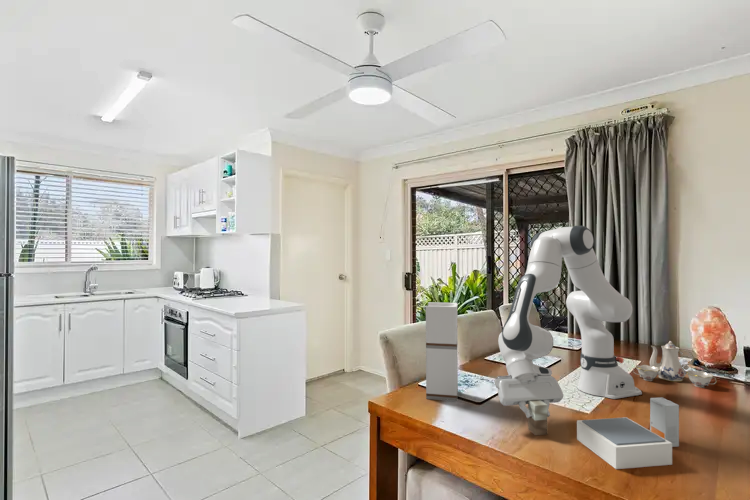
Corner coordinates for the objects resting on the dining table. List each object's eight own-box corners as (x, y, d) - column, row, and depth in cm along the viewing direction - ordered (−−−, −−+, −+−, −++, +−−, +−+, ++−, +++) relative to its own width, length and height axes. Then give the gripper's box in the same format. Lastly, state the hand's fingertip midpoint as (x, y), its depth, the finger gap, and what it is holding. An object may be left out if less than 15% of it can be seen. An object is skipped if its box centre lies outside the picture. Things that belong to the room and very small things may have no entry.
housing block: (540, 428, 125) (540, 399, 125) (547, 434, 121) (547, 404, 121) (528, 429, 125) (528, 400, 125) (535, 435, 121) (534, 405, 121)
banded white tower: (457, 391, 158) (457, 302, 158) (457, 401, 148) (456, 306, 148) (428, 389, 161) (428, 302, 161) (426, 398, 151) (425, 306, 150)
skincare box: (649, 437, 119) (649, 397, 119) (662, 436, 120) (662, 396, 119) (665, 447, 113) (665, 405, 113) (679, 447, 114) (679, 405, 113)
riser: (626, 435, 120) (626, 415, 120) (672, 464, 104) (672, 441, 104) (576, 439, 118) (576, 419, 118) (616, 469, 102) (615, 445, 102)
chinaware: (636, 386, 168) (637, 347, 166) (628, 370, 183) (629, 335, 181) (720, 395, 157) (722, 354, 155) (704, 377, 172) (706, 340, 170)
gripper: (495, 371, 129) (509, 414, 119) (555, 368, 131) (573, 410, 122) (490, 380, 133) (503, 423, 123) (547, 377, 136) (565, 418, 126)
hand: (538, 416), depth 123 cm, fingers closed on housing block, 4 cm apart
